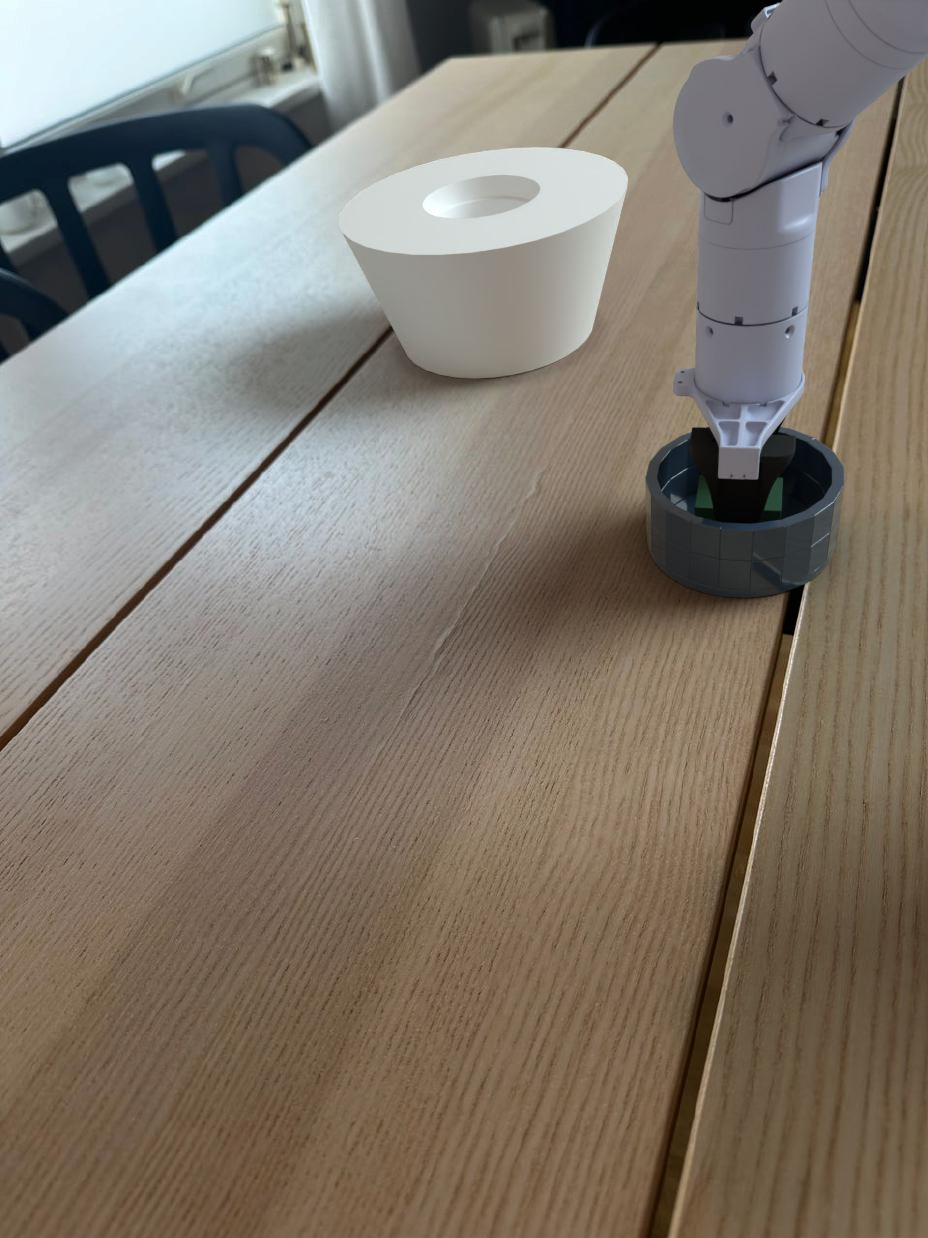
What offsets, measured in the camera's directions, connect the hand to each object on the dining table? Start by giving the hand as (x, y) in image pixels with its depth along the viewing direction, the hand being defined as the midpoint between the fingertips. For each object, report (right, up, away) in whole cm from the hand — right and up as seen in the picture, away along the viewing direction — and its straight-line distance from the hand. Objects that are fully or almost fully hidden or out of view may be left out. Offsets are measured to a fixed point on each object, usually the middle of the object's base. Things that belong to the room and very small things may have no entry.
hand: (739, 511), depth 61 cm
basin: (0, -2, +1) cm, 2 cm away
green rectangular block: (0, -1, +1) cm, 2 cm away
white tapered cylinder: (-14, +19, +28) cm, 37 cm away
